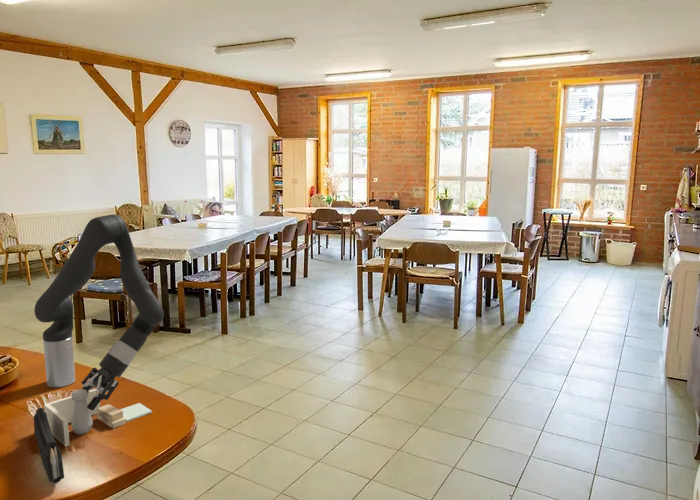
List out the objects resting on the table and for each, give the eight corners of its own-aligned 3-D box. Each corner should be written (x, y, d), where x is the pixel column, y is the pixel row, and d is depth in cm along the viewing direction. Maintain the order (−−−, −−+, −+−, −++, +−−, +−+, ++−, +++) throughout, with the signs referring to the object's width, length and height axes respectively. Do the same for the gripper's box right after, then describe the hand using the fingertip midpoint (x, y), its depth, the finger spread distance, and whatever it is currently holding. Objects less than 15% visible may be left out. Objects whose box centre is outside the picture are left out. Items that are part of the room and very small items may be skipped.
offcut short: (97, 414, 165) (97, 408, 165) (108, 410, 168) (108, 404, 168) (112, 422, 161) (111, 415, 161) (123, 417, 164) (122, 410, 164)
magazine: (31, 407, 154) (42, 419, 130) (44, 404, 156) (57, 415, 132) (38, 466, 153) (50, 488, 129) (51, 462, 155) (65, 484, 131)
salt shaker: (89, 424, 163) (86, 385, 160) (96, 431, 159) (93, 391, 156) (69, 430, 159) (65, 390, 156) (75, 438, 155) (72, 397, 152)
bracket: (46, 428, 160) (44, 404, 158) (99, 410, 171) (97, 388, 170) (65, 446, 150) (63, 420, 149) (120, 426, 162) (118, 402, 160)
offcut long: (97, 420, 166) (96, 413, 166) (109, 415, 170) (109, 409, 169) (113, 430, 160) (113, 423, 160) (125, 425, 164) (125, 418, 163)
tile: (114, 413, 170) (114, 411, 170) (139, 404, 176) (139, 402, 176) (127, 421, 165) (126, 420, 165) (152, 412, 171) (152, 410, 171)
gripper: (99, 347, 167) (64, 392, 160) (120, 358, 157) (83, 406, 151) (117, 358, 171) (83, 402, 165) (138, 370, 162) (103, 417, 156)
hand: (83, 404), depth 158 cm, fingers open, 8 cm apart
